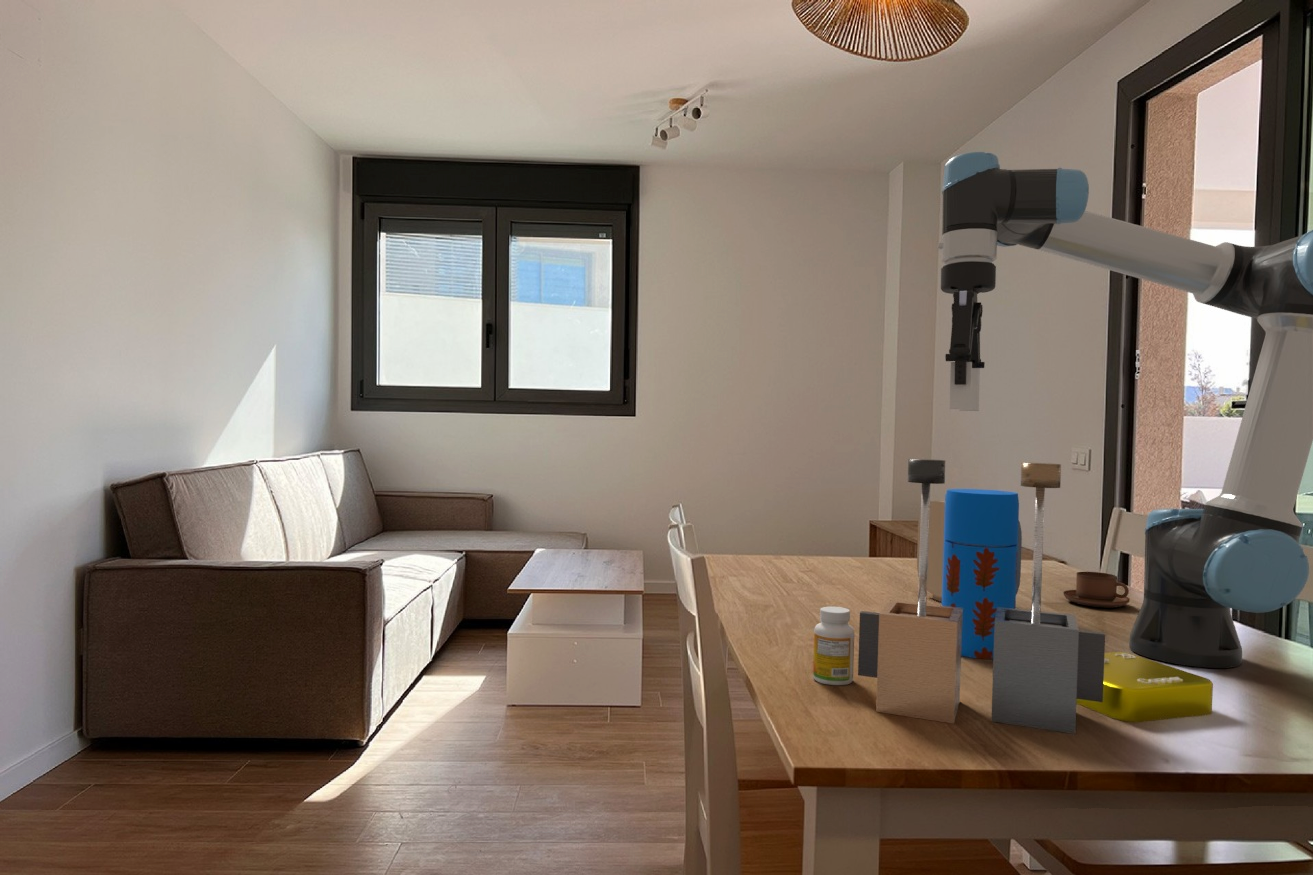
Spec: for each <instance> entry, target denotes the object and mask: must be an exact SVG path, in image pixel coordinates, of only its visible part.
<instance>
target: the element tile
mask: <svg viewBox="0 0 1313 875" xmlns="http://www.w3.org/2000/svg"><path fill="white" fill-rule="evenodd" d="M1213 686H1214V683H1213V682H1212V680H1211V679H1209V678H1208V677H1204V676H1202V675H1201V676H1200V675H1198V674H1195V673H1191V672H1189V671H1186V670H1183V669H1179V668H1176V667H1173V666H1170V665H1167V664H1164V663H1161V662H1158V661H1155V660H1151V659H1150V658H1149V659H1148V658H1147V657H1142V656H1139V655H1136V654H1133V653H1130V652H1125V651H1114V652H1113V651H1111V652H1110V651H1109V652H1105V653H1104V681H1103V702H1097V701H1090V700H1082V699H1076V705H1077V704H1078V705H1080V706H1082V707H1084V708H1087V709H1090V710H1092V711H1094V712H1097V713H1099V714H1102V715H1103V716H1106V717H1108V718H1111V719H1115V720H1117V721H1122V722H1127V723H1140V722H1152V721H1153V722H1154V721H1162V720H1164V721H1165V720H1173V719H1181V718H1194V717H1205V716H1209V715H1210V716H1211V715H1212V714H1213V695H1214V694H1213V692H1214V689H1213V688H1214V687H1213Z"/></svg>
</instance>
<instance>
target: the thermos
mask: <svg viewBox="0 0 1313 875" xmlns="http://www.w3.org/2000/svg"><path fill="white" fill-rule="evenodd" d="M945 494H946V498H945V497H944V501H945V518H944V539H945V540H944V549H943V579H942V602H941V606H950V607H959V608H963V615H962V645H961V657H965V658H972V659H981V660H982V659H983V660H993V657H994V627H995V617H996V611H997V607H1003V608H1013V609H1016V605H1017V604H1016V603H1017V601H1016V600H1017V594H1016V578H1017V549H1018V545H1017V543H1018V520H1019V519H1020V518H1019V516H1020V515H1019V514H1020V503H1019V502H1020V500H1019V499H1020V498H1019V493H1018V492H1013V491H1007V490H1006V491H1005V490H995V489H994V490H993V489H979V488H978V489H977V488H949V489H946V492H945ZM1019 521H1020V520H1019Z"/></svg>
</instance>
